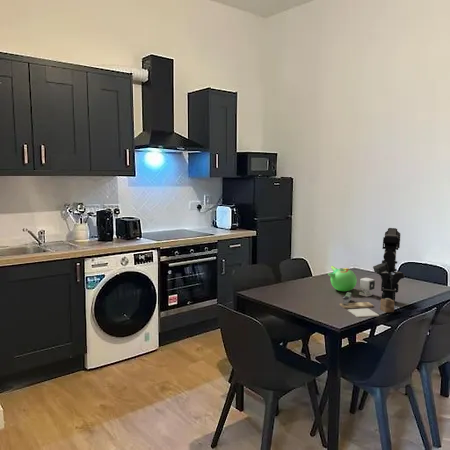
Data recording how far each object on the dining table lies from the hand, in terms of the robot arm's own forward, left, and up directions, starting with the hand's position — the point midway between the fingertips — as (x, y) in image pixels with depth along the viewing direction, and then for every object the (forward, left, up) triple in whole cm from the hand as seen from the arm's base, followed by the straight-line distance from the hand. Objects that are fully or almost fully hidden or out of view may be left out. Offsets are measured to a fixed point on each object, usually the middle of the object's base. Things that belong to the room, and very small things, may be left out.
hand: (388, 287), depth 231 cm
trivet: (+15, +2, -12) cm, 20 cm away
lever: (+15, -15, -11) cm, 24 cm away
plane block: (+13, -10, -12) cm, 20 cm away
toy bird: (+6, -41, -13) cm, 43 cm away
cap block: (0, 0, -13) cm, 13 cm away
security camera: (-4, -29, -13) cm, 32 cm away
